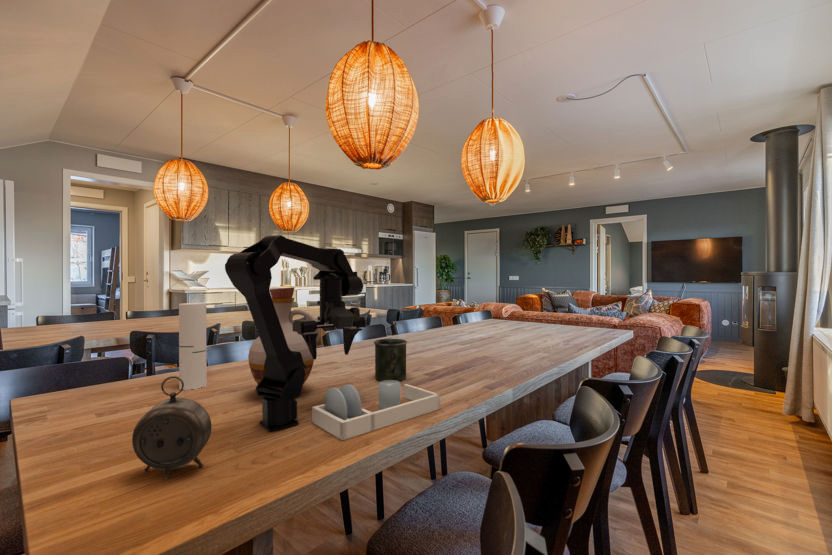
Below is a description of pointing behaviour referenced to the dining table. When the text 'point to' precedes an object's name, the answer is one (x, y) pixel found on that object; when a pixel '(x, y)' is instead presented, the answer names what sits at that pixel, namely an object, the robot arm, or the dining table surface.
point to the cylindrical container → (192, 345)
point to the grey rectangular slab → (389, 394)
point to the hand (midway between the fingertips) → (331, 356)
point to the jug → (294, 340)
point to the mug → (390, 359)
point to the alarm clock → (172, 433)
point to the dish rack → (352, 420)
